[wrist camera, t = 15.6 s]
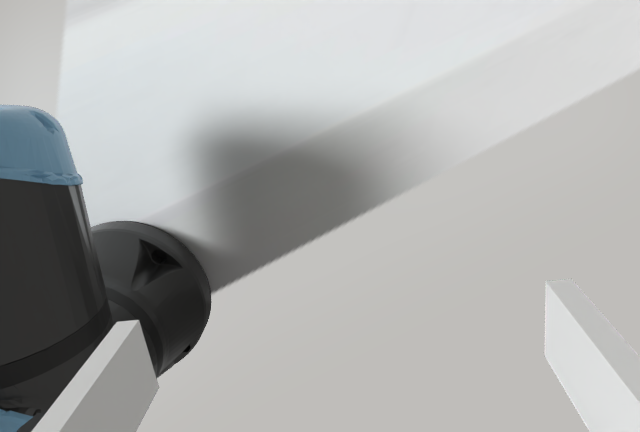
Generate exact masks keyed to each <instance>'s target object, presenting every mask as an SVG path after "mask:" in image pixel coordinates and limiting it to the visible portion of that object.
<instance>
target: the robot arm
mask: <svg viewBox="0 0 640 432" xmlns="http://www.w3.org/2000/svg"><path fill="white" fill-rule="evenodd" d="M81 184H83V180H82V177H81V176H80V175H79V174H78V173H77V171H76V168H75V165H74V162H73V158H72V155H71V152H70V149H69V146H68V142H67V139H66V135H65V133H64V130H63V128H62V126H61V125H60V123H59V122H58V121H57V120H56V119H55V118H54V117H53V116H51V115H50V114H49V113H47V112H45V111H43V110H40V109H38V108H34V107H29V106H18V105H0V432H136V431H137V428H138V427H139V425H140V423H141V421H142V419H143V417H144V415H145V413H146V411H147V410H148V408H149V406H150V404H151V402H152V400H153V398H154V396H155V394H156V392H157V390H158V389H159V385H158V382H157V377H159V376H160V375H161V374H163V373H164V372H166V371H167V370H168V369H170V368H171V367H172V366H173V365H174V364H176V363H177V362H179V361H180V360H181V359H182V358H184V357H185V356H186V355H187V354H188V353H189V352H190V351H191V350H192V349H193V348H194V346H195V345H196V344H197V342H198V340H199V339H200V337H201V334H202V332H203V330H204V328H205V326H206V324H207V322H208V319H209V315H210V310H211V293H210V287H209V283H208V280H207V277H206V275H205V273H204V271H203V269H202V267H201V265H200V264H199V262H198V261H197V259H196V258H195V257H194V255H193V254H192V253H191V252H190V251H189V250H188V249H187V248H186V247H185V246H184V245H183V244H182V243H180V242H179V241H178V240H176V239H175V238H174V237H172V236H170V235H169V234H167V233H165V232H163V231H161V230H159V229H157V228H154V227H151V226H149V225H145V224H141V223H136V222H127V221H116V222H108V223H103V224H99V225H96V226H94V227H90V223H89V218H88V214H87V210H86V205H85V201H84V197H83V192H82V188H81ZM545 295H546V296H545V358H546V359H547V361H548V363H549V364H550V366H551V368H552V369H553V371H554V372H555V374H556V376H557V378H558V379H559V381H560V383H561V384H562V386H563V388H564V389H565V391H566V393H567V395H568V396H569V398H570V400H571V401H572V403H573V405H574V406H575V408H576V410H577V412H578V413H579V415H580V417H581V418H582V420H583V422H584V423H585V425H586V427H587V428H588V430H589V432H640V356H639V355H638V354H637V353H636V351H635V350H634V349H633V348H632V347H631V346H630V345H629V344H628V342H627V341H626V340H625V339H624V338H623V337H622V336H621V334H620V333H619V332H618V331H617V330H616V329H615V328H614V327H613V325H612V324H611V323H610V322H609V321H608V320H607V319H606V317H605V316H604V315H603V314H602V313H601V312H600V311H599V309H598V308H597V307H596V306H595V305H594V304H593V303H592V302H591V300H590V299H589V298H588V297H587V296H586V295H585V294H584V292H583V291H582V290H581V289H580V288H579V287H578V286H577V284H576V283H575V282H574V281H573V280H572V279H562V280H552V281H546V294H545Z"/></svg>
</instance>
